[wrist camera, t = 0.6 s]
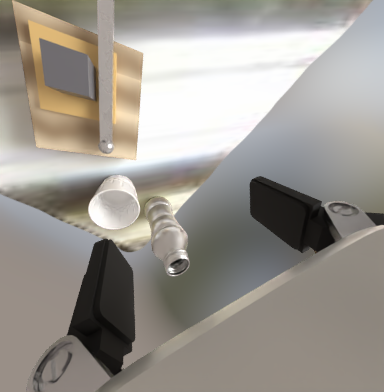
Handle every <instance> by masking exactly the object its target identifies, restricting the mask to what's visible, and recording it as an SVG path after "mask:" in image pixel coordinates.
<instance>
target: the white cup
mask: <svg viewBox="0 0 384 392" xmlns="http://www.w3.org/2000/svg"><path fill="white" fill-rule="evenodd" d="M88 213H89V216H90V218H91V220H92V221H93V222H94V223H95V224H96V225H98V226H100V227H102V228H105V229H110V230H117V229H122V228H125V227H128V226H129V225H131V224H132V223H134V222H135V220H136V219H137V218H138V216H139V213H140V205H139V201H138V197H137V194H136V190H135V187H134V185H133V183H132V181H131V180H129V179H128V178H127V177H125V176H121V175H112V176H110V177H108V178H106V179H105V180H104V182H103V183H102V184H101V185H100V187H99V188H98V190H97V191H96V193H95V194H94V196H93V198H92V199H91V201H90V203H89V206H88Z"/></svg>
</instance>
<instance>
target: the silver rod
mask: <svg viewBox="0 0 384 392" xmlns="http://www.w3.org/2000/svg"><path fill="white" fill-rule="evenodd" d="M97 11H98V66H99V120H100V143H99V145H98V147H99V150H100V151H101V152H102V153H105V154H109V153H111V152H112V151H113V149H114V143H113V77H114V0H97Z"/></svg>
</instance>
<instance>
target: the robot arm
mask: <svg viewBox="0 0 384 392" xmlns="http://www.w3.org/2000/svg"><path fill="white" fill-rule="evenodd" d="M321 203H322V201H319V200H317V199H315V198H312V197H310V196H307V195H305V194H302V193H300V192H297V191H295V190H293V189H290V188H288V187H286V186H283V185H281V184H278V183H276V182H273V181H271V180H269V179H266V178H264V177H261V176H259V177H256V178H254V179H252V180H251V182H250V213H251V215H252V217H253V218H254V219H256V220H257V221H258V222H260V223H261V224H262V225H264V226H265V227H266V228H267V229H269V230H270V231H271V232H273V233H274V234H275V235H277V236H278V237H279V238H280V239H282V240H283V241H284V242H286V243H287V244H288V245H290V246H291V247H292V248H294V249H297V250H299V251H300V252H301V253H303V252H305V251H307V250H309V247H311V248H312V249H313V250H314V253H315V254H314V255H312V256H311V257H309V258H307V259H306V260H304V261H302V262H300V263H299V264H297V265H296V266H294V267H292V268H291V269H288V270H287V271H285V272H283V273H282V274H280V275H278V276H276V277H275V278H273V279H271V280H270V281H268V282H266V283H265V284H263V285H261V286H260V287H258V288H256V289H255V290H253V291H251V292H249V293H248V294H246V295H244V296H243V297H241V298H240V299H238V300H236V301H234V302H233V303H231V304H229V305H228V306H226V307H224V308H222V309H221V310H219V311H217V312H216V313H214V314H212V315H211V316H209V317H207V318H206V319H204V320H202V321H201V322H199V323H197V324H196V325H194V326H192V327H191V328H189V329H187V330H186V331H184V332H182V333H181V334H179V335H177V336H176V337H174V338H172V339H171V340H169V341H168V342H166V343H164V344H163V345H161V346H160V347H158V348H156V349H155V350H153V351H152V352H150V353H148V354H147V355H145V356H144V357H142V358H140V359H139V360H137V361H136V362H134V363H133V364H131V365H130V366H128V367H127V368H125V369H124V368H123V367H122V365H123V356H124V355H126V354H128V353H130V352H131V351H132V342H134V340H135V315H134V286H133V271H132V268H131V267H130V265H129V264H128V262H127V261H126V259H125V258H124V257H123V255H122V254H121V252H120V251H119V249H118V248H117V247H116V245H115V244H114V242H113V241H112V240H108V239H104V240H101V241H99V242H96V243H95V244H94V247H93V250H92V254H91V258H90V261H89V265H88V268H87V272H86V274H85V275H84V278H83V281H82V285H81V288H80V292H79V295H78V299H77V302H76V306H75V309H74V313H73V316H72V320H71V324H70V327H69V330H68V334H67V336H65V337H62V338H60V339H59V340H57V341H56V342H55V343H54V344H52V345H51V346H50V347H49V348H48V349H47V350H46V351H45V353H44V354H43V355H42V356H41V358H40V359H39V360H38V362H37V363H36V365H35V367H34V368H33V370H32V372H31V375H30V377H29V379H28V383H27V387H26V392H384V214H380V213H365V212H364V211H363V210H362V209H361V208H359V207H358V206H356V205H353V204H351V203H347V202H343V201H332V202H328V203H326V204H325V206H324V207H321Z"/></svg>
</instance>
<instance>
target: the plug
mask: <svg viewBox="0 0 384 392" xmlns="http://www.w3.org/2000/svg"><path fill="white" fill-rule="evenodd" d="M28 24H29V31H30V38H31V45H32V52H33V59H34V66H35V73H36V80H37V87H38V94H39V101H40V108H41V109H45V110H50V111H55V112H60V113H65V114H69V115H74V116H79V117H84V118H89V119H93V120H98V121H100V120H99V66H98V46H96V45H93V44H91V43H88V42H85V41H83V40H80V39H77V38H75V37H72V36H70V35H67V34H64V33H62V32H59V31H56V30H54V29H51V28H48V27H46V26H43V25H41V24H38V23H35V22H33V21H30V20H28ZM116 76H117V54H116V53H114V77H113V124H116Z"/></svg>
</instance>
